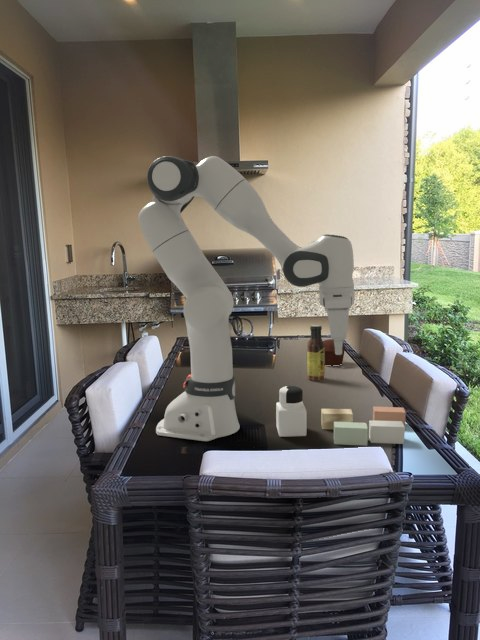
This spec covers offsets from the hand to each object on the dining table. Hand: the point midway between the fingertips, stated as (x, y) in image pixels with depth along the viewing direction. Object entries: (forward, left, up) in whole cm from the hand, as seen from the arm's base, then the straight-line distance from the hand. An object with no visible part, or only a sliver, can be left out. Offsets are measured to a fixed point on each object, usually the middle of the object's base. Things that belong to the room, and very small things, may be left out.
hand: (338, 350), depth 130 cm
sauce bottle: (-6, +48, -22) cm, 53 cm away
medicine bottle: (-12, -4, -22) cm, 25 cm away
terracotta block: (+14, +4, -22) cm, 26 cm away
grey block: (+12, -7, -22) cm, 26 cm away
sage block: (+3, -9, -22) cm, 24 cm away
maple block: (0, +1, -22) cm, 22 cm away
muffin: (0, +72, -22) cm, 75 cm away
